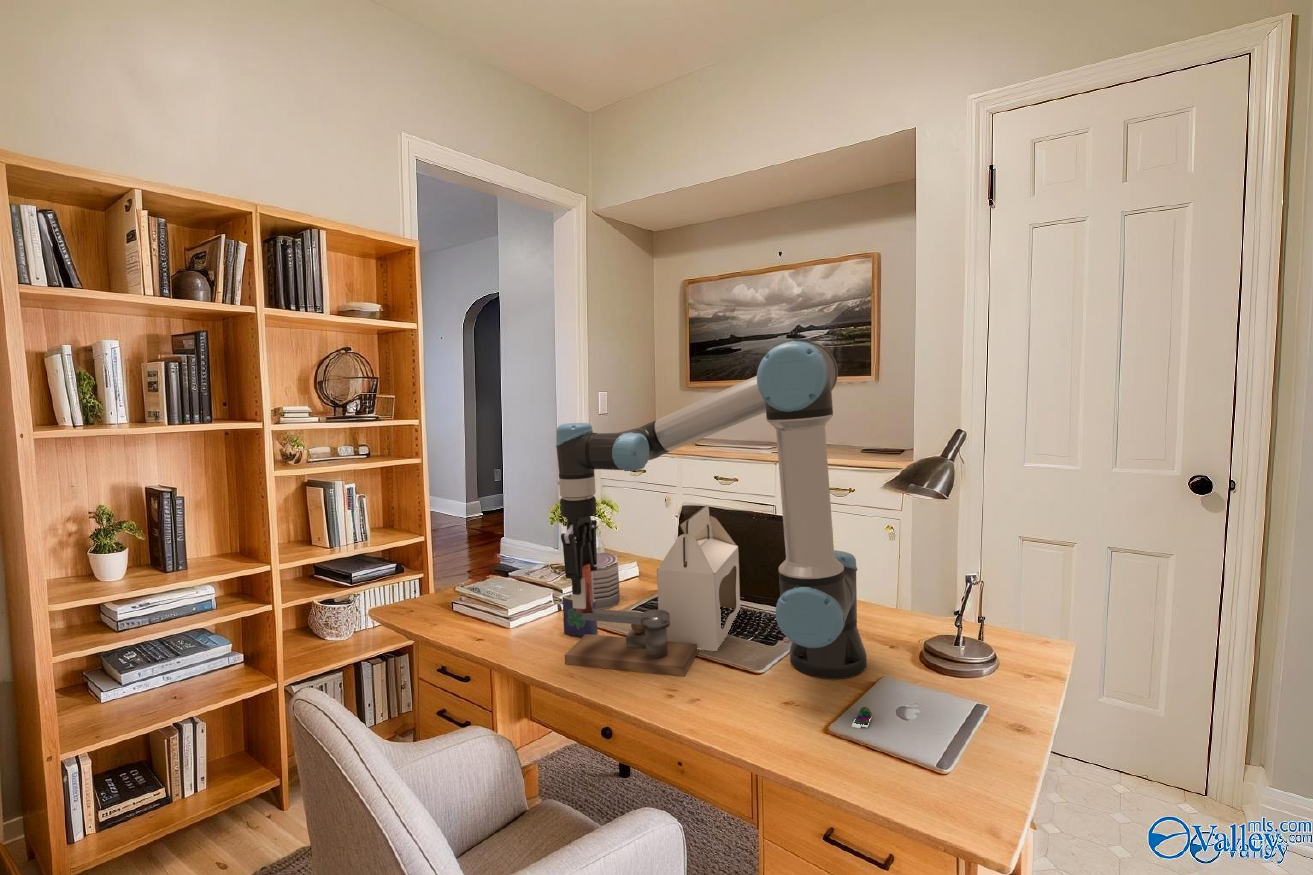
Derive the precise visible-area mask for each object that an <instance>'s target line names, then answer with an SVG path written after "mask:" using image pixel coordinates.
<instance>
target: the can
mask: <svg viewBox="0 0 1313 875" xmlns="http://www.w3.org/2000/svg"><path fill="white" fill-rule="evenodd" d="M594 566H596V567H597V570H596V571H593V570H592V572H593V587H594V599H595V600H596V609H601V610H611V608H613V607H616V606H618V605H619V604H620V600H621V598H620V578H619V577H620V576H619V555H617V554H614V553H610V552H606V551H605V552H597V564H596V565H594Z"/></svg>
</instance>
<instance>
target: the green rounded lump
mask: <svg viewBox="0 0 1313 875" xmlns="http://www.w3.org/2000/svg"><path fill="white" fill-rule="evenodd" d="M871 716H872V711H871V709H870V708H869V707H868V706H862V707H861V708H860V709H859V710H858V715H856V717H855V719H856V720H855V722H854V723H856V724H860V725H861V724H862V725H863V724H864V725H868V723H869V719H870V718H871ZM872 717H873V716H872Z"/></svg>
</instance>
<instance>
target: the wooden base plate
mask: <svg viewBox="0 0 1313 875" xmlns="http://www.w3.org/2000/svg"><path fill="white" fill-rule="evenodd" d="M630 626H631V627H630V628H631V629H630V631H629V632H628V633H626V634H625V637H624V636H614V635H613V636H611V635H599V634H598V635H591V634H585V635H584V636H583V637H582V638H579V640H578V641H577V642H576V643H575V644H574V645H572V647H570V648H569V650H568V651H567V652H565V654H564V664H565V663H568V664H567V665H571V664H574V665H573V666H581V667H589V668H590V667H592V668H600V669H611V670H620V671H629V672H638V673H639V672H640V673H647V674H654V675H655V674H657V675H658V674H659V675H668V676H674V677H685V676H686V674H687V673H688V670H689V669H690V667H691V665H692V663H693V662H694V660H695V658H696V656H697V655H696V654H698V650H697V644H691V643H680V642H669V641H667V632H666V628H665V629H661V630H647V629H644V628H643V627H642V626H641V625H640V624H630Z"/></svg>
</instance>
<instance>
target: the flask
mask: <svg viewBox="0 0 1313 875" xmlns="http://www.w3.org/2000/svg"><path fill="white" fill-rule="evenodd" d="M561 600H562V614H563V621H562V623H563V634H564V635H566V636H569V637H572V638H578V639H581V638H582V637H583V636H584V635H585V634H591V635H599V631H598V621H591V620H582V614H581V613H577V612H576V608H573V599H572V593H569V594H565V595H563V596H562V599H561ZM592 609H596V600H595V599H594V601H593V602H592Z"/></svg>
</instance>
